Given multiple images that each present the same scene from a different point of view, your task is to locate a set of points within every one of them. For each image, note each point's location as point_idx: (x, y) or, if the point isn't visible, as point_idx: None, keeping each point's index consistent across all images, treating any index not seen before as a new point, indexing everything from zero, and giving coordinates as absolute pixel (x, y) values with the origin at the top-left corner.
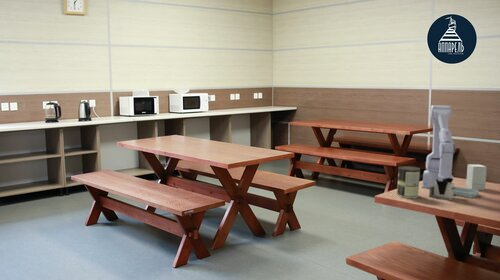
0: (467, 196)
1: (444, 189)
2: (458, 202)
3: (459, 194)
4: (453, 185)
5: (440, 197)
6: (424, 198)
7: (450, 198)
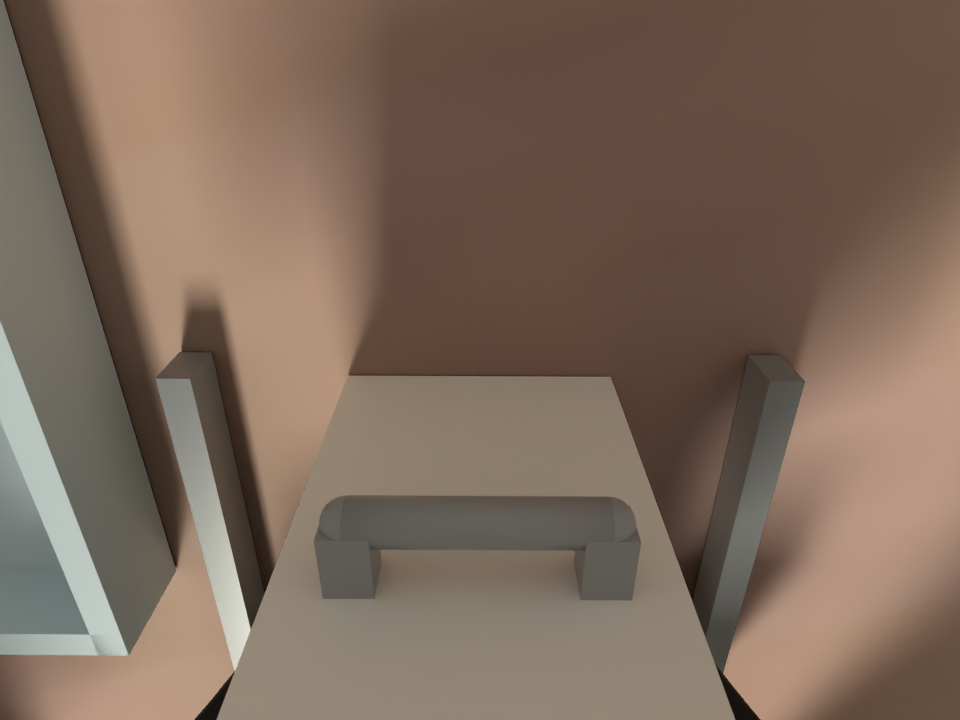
0: (2, 56)
1: (729, 683)
2: (912, 87)
3: (64, 312)
4: (357, 658)
5: (746, 546)
6: (875, 700)
7: (583, 380)
